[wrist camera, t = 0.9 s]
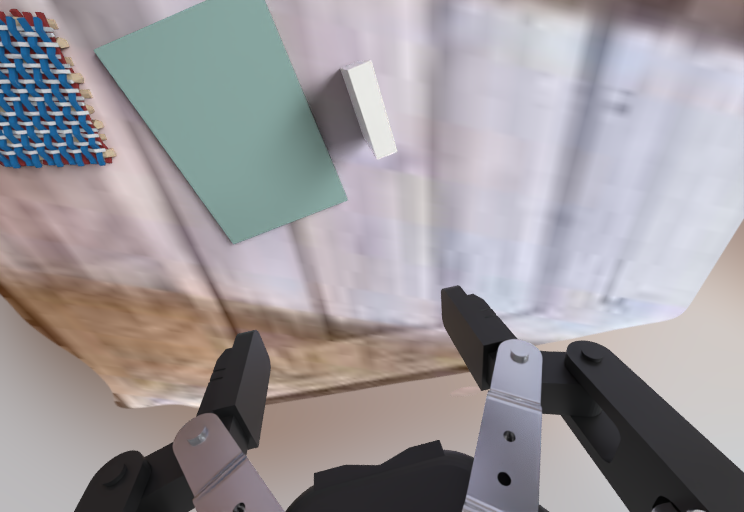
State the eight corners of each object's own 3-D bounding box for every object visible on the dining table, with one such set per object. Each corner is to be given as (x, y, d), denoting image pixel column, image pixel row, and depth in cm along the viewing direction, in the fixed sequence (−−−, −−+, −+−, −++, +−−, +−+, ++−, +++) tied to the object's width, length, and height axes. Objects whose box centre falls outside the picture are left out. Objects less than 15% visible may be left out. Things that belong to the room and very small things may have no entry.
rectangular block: (340, 68, 26) (347, 69, 19) (357, 61, 26) (371, 60, 19) (363, 137, 29) (377, 159, 22) (379, 131, 29) (397, 151, 22)
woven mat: (62, 11, 22) (40, 7, 20) (125, 160, 28) (112, 166, 26) (-111, 7, 21) (-150, 1, 19) (-8, 164, 26) (-30, 171, 25)
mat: (99, 50, 23) (93, 50, 22) (256, -19, 22) (254, -21, 22) (235, 240, 33) (233, 244, 32) (347, 197, 32) (347, 200, 31)
